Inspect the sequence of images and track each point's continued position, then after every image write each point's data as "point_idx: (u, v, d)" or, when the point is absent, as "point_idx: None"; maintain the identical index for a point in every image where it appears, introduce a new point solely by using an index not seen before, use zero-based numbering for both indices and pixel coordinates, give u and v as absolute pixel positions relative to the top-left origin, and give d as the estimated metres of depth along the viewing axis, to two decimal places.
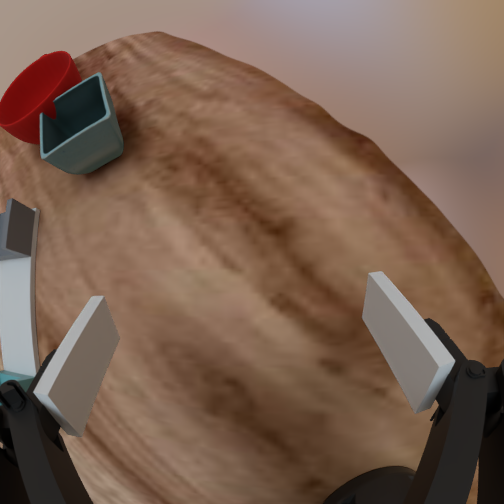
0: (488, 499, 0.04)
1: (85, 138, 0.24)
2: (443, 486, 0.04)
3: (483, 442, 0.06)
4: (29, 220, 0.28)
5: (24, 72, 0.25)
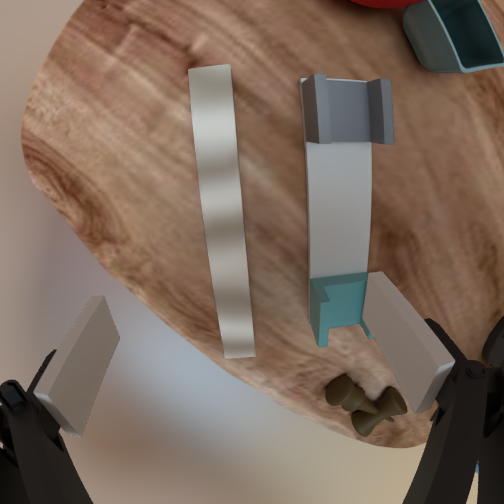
0: (488, 499, 0.04)
1: None
2: (443, 486, 0.04)
3: (482, 442, 0.06)
4: None
5: None
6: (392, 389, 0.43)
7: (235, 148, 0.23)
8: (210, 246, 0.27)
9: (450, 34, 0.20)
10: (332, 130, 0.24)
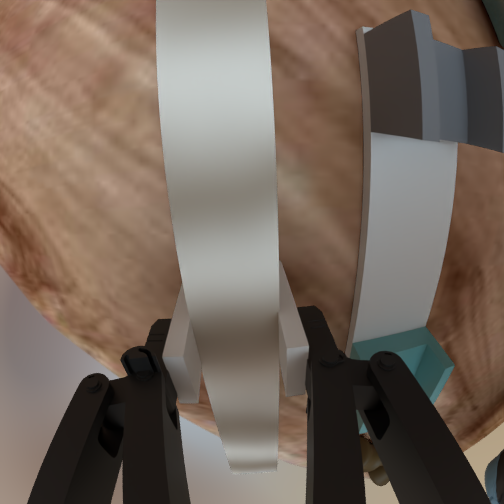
0: (409, 500, 0.05)
1: None
2: (328, 486, 0.05)
3: (378, 444, 0.07)
4: None
5: None
6: None
7: (272, 145, 0.09)
8: (206, 359, 0.12)
9: None
10: None
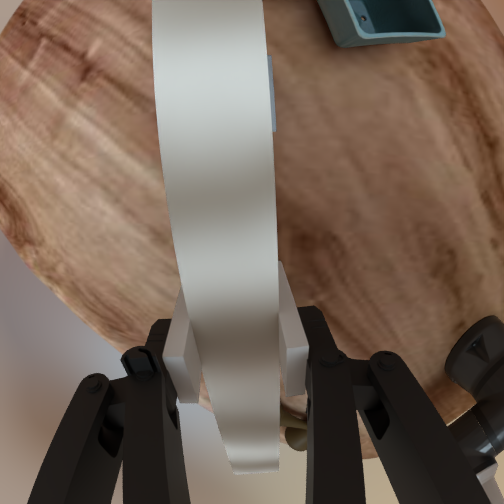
0: (409, 500, 0.05)
1: (409, 38, 0.15)
2: (328, 486, 0.05)
3: (378, 443, 0.07)
4: None
5: None
6: None
7: (269, 143, 0.09)
8: (206, 360, 0.12)
9: (381, 9, 0.18)
10: None
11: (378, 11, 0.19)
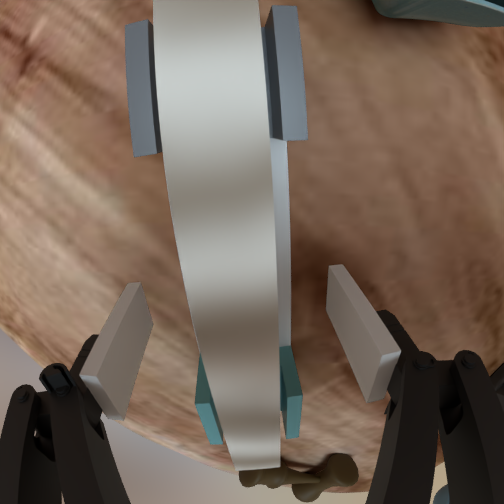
0: (460, 496, 0.04)
1: (496, 16, 0.06)
2: (401, 482, 0.04)
3: (445, 438, 0.07)
4: None
5: None
6: (335, 458, 0.32)
7: (267, 142, 0.09)
8: (207, 353, 0.12)
9: None
10: None
11: None
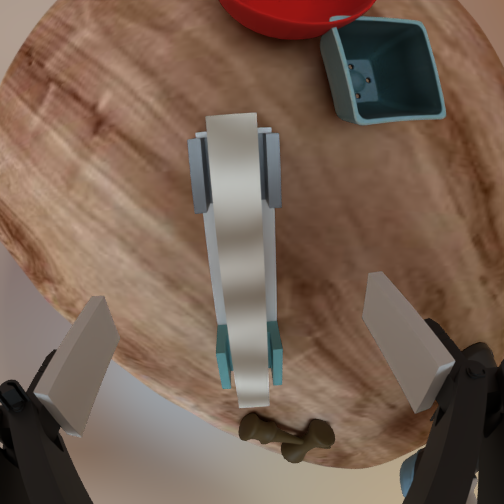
0: (488, 499, 0.04)
1: None
2: (443, 486, 0.04)
3: (483, 442, 0.06)
4: None
5: None
6: (315, 422, 0.44)
7: (260, 214, 0.22)
8: (229, 313, 0.25)
9: (387, 73, 0.22)
10: None
11: (383, 74, 0.23)
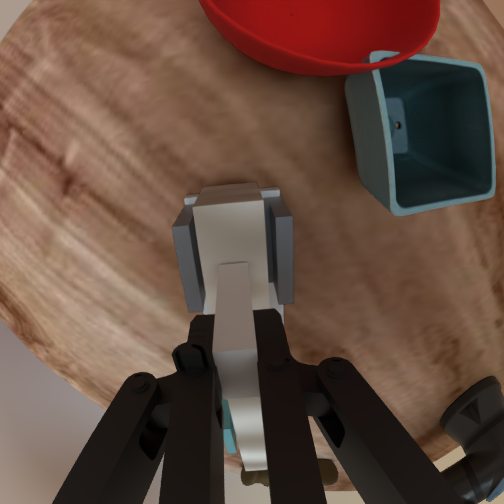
0: None
1: None
2: (285, 491, 0.05)
3: (337, 451, 0.07)
4: None
5: None
6: None
7: None
8: (233, 408, 0.21)
9: (423, 120, 0.18)
10: None
11: (418, 120, 0.19)
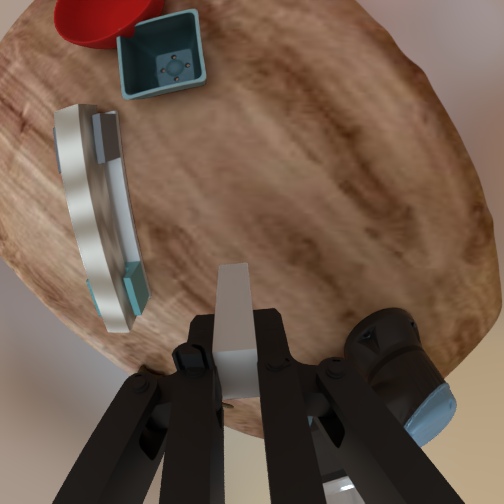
0: None
1: (173, 88, 0.25)
2: (285, 492, 0.05)
3: (337, 451, 0.07)
4: (113, 125, 0.31)
5: None
6: None
7: (84, 167, 0.28)
8: (78, 240, 0.31)
9: (197, 56, 0.29)
10: None
11: (196, 58, 0.29)
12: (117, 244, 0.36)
